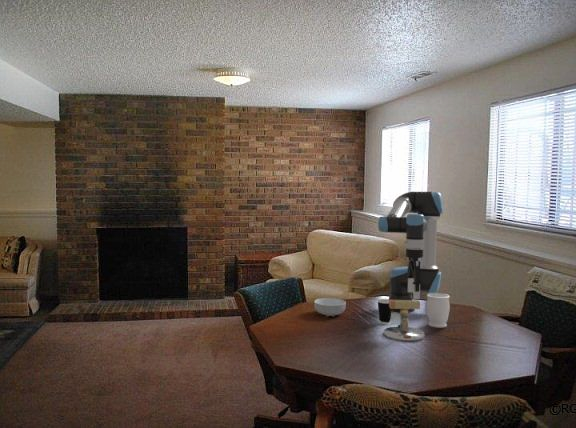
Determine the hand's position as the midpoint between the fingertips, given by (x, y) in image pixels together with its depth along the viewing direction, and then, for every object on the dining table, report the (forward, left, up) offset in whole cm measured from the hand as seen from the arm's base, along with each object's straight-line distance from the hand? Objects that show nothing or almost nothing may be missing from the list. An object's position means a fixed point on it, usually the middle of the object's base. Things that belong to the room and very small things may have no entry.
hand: (413, 295), depth 218 cm
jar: (-17, +15, -19) cm, 30 cm away
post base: (0, -4, -19) cm, 19 cm away
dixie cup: (-20, -10, -19) cm, 29 cm away
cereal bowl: (-33, -37, -19) cm, 53 cm away
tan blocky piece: (0, -4, -15) cm, 16 cm away
